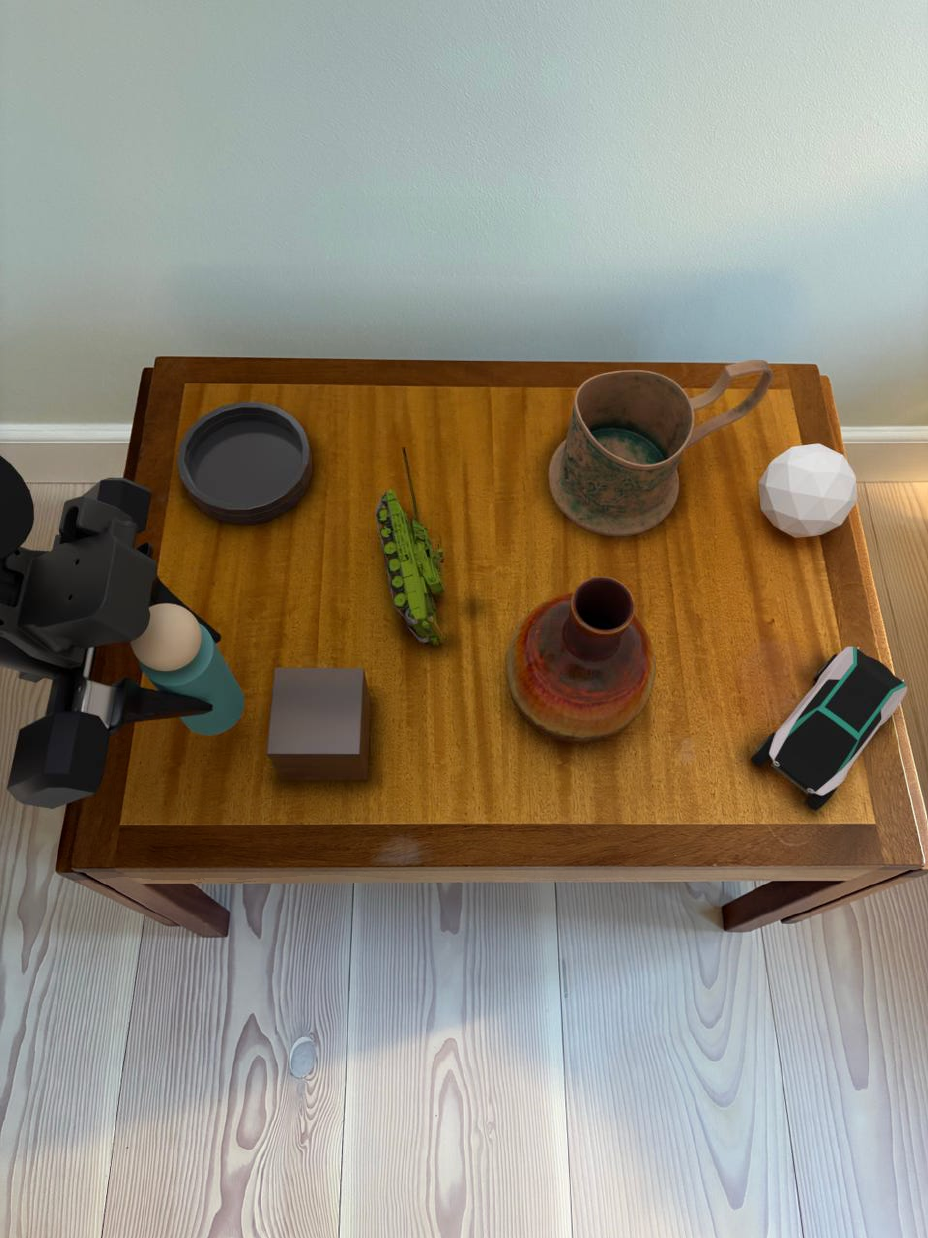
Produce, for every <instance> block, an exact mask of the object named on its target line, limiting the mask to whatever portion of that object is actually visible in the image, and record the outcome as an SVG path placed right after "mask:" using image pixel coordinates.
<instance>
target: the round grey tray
mask: <svg viewBox="0 0 928 1238" xmlns="http://www.w3.org/2000/svg"><path fill="white" fill-rule="evenodd" d="M176 465H177V469H178V473H179V477H180V480H181V482H182V484H183V487H184V489H185V490H186V491H185V492H186V493H187V494H188V495H189V498H190V499H191V501H192V502H193V503H194V505H195V506H196V507H197V508H198V509H199V510H200V511H202V512H203V513H204V514H206V516H209V517H211V518H212V519H215V520H217V521H220V522H221V523H222V522H223V523H226V524H231V525H241V526H247V525H255V524H261V523H264V522H268V521H271V520H274V519H276V518H278V517H280V516H282V515H284V514H286V513H287V512H288V511H290V510H291V509H292V508H293V507H294V506H296V505H297V504H298V503H299V501H300V500H301V499H302V498H303V496H304V495H305V493H306V492H307V490H308V488H309V486H310V484H311V481H312V477H313V471H314V470H313V454H312V451H311V447H310V443H309V440H308V436H307V434H306V431H305V429H304V428H303V426H302V425H301V423H300V422H299V421H298V420H297V419H296V417H294V416H293V415H291V414H290V413H288V412H287V411H285V410H283V409H282V408H280V407H278V406H275V405H272V404H269V403H264V402H260V401H239V402H235V403H230V404H226V405H221V406H219V407H217V408H214V409H213V410H211V411H209V412H207V413H205V414H204V415H202V416H201V417H200V418H199V419H198V420H197V421H195V422H194V423H193V424H192V425H191V426H190V427H189V428H188V430H187V432H186V433H185V435H184V437H183V439H182V440H181V442H180V443H179V448H178V454H177V459H176Z"/></svg>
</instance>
